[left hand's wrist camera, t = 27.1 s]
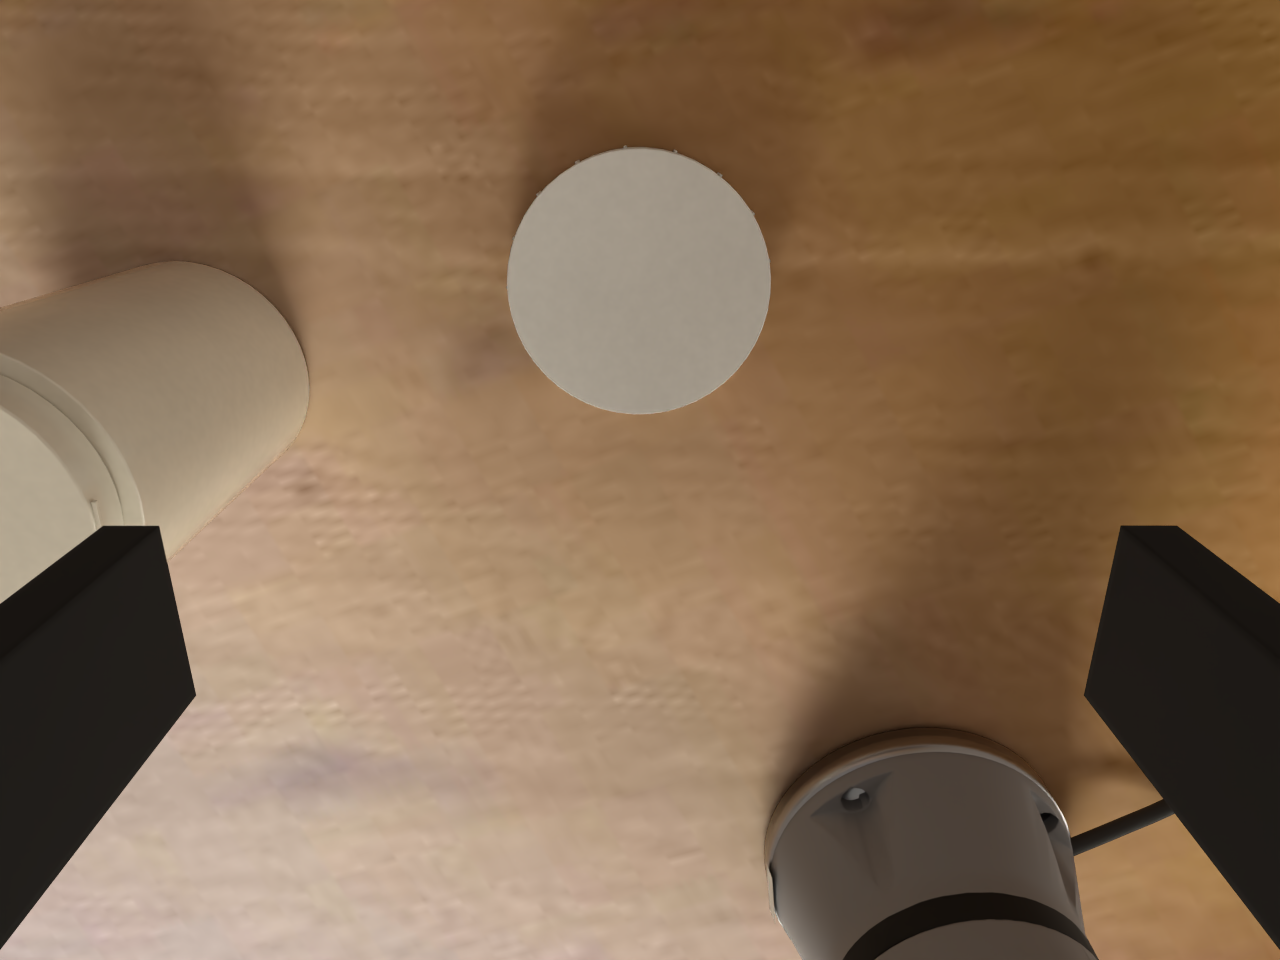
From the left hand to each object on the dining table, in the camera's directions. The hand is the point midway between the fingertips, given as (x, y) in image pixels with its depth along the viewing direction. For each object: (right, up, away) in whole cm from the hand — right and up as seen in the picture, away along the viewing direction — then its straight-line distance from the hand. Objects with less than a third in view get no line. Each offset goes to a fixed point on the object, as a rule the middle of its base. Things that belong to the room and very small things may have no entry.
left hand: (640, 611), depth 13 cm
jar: (-19, +6, +26) cm, 32 cm away
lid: (0, +9, +23) cm, 25 cm away
